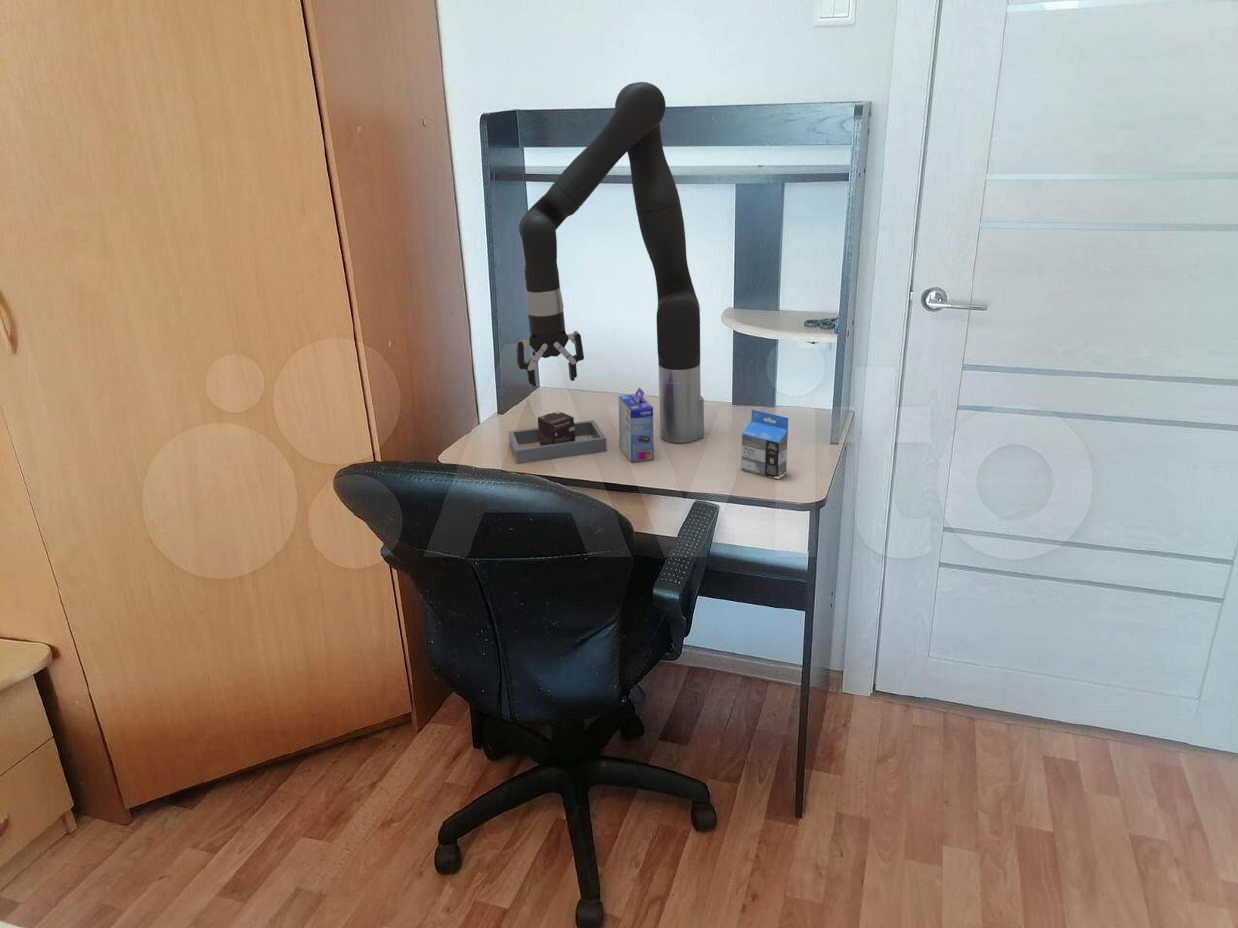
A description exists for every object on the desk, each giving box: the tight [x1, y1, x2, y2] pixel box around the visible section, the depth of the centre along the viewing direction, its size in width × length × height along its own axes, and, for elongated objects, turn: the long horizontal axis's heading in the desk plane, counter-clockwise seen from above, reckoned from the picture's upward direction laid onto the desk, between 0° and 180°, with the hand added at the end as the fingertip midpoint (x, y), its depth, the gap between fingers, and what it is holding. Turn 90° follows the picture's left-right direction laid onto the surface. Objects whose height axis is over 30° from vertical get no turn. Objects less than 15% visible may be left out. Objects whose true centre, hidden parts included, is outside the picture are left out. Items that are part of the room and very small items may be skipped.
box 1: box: [537, 410, 576, 446], centre depth 203 cm, size 6×6×7 cm
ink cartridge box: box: [618, 387, 655, 463], centre depth 196 cm, size 10×6×14 cm, turn 16°
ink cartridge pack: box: [741, 409, 789, 477], centre depth 185 cm, size 9×4×12 cm, turn 51°
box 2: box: [507, 419, 608, 464], centre depth 203 cm, size 20×12×3 cm, turn 104°
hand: (553, 382), depth 198 cm, fingers open, 8 cm apart
